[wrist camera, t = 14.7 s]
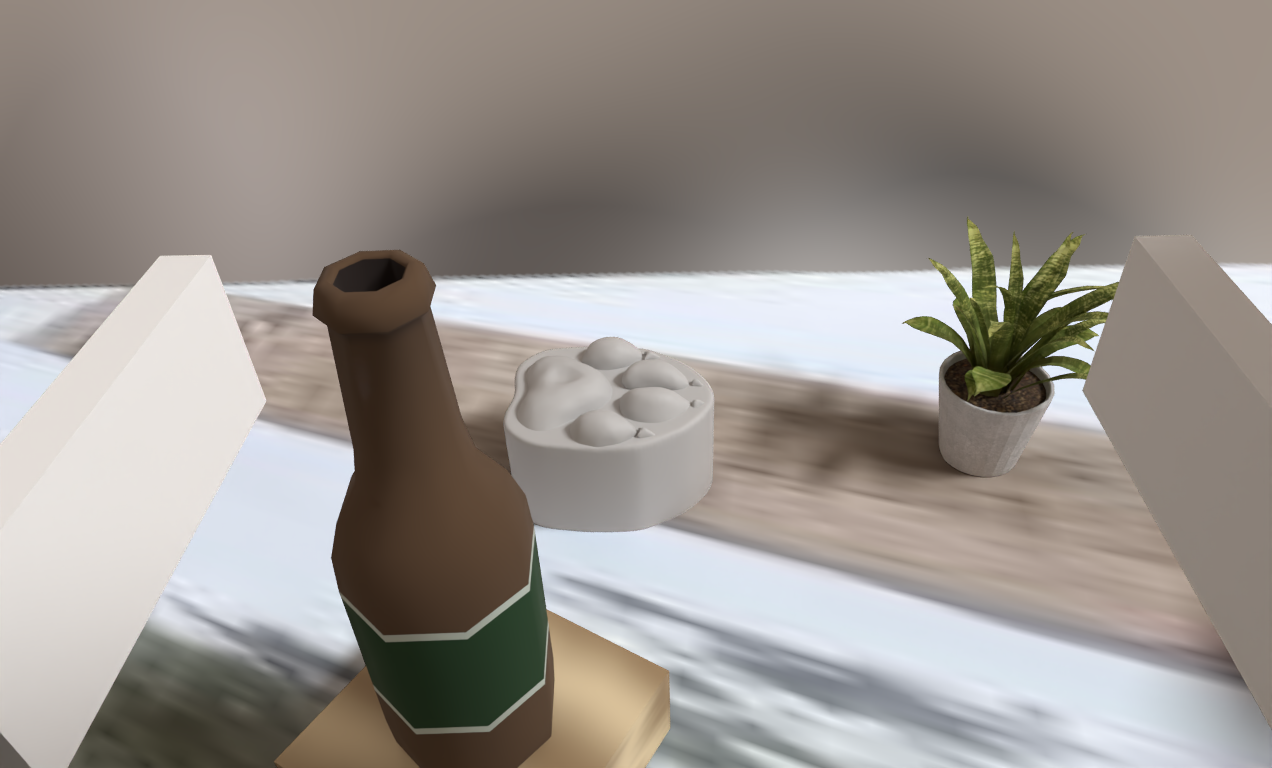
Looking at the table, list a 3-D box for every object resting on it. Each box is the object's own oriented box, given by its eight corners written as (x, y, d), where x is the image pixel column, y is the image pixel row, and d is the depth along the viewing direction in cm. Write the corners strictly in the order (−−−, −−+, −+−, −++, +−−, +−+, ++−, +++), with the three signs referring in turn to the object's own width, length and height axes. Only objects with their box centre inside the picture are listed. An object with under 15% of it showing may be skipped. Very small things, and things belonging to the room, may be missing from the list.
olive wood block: (474, 623, 53) (461, 566, 50) (670, 728, 47) (668, 671, 44) (302, 816, 44) (273, 761, 41) (516, 971, 39) (502, 921, 36)
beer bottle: (359, 761, 41) (175, 316, 26) (449, 626, 47) (338, 196, 32) (514, 821, 39) (408, 370, 24) (588, 671, 44) (540, 230, 29)
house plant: (1084, 572, 54) (1176, 350, 44) (853, 505, 59) (888, 291, 49) (1101, 427, 64) (1179, 218, 54) (903, 379, 69) (940, 180, 59)
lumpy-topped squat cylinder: (532, 424, 67) (519, 326, 61) (711, 426, 66) (714, 327, 60) (509, 531, 58) (491, 428, 53) (713, 535, 58) (716, 431, 52)
